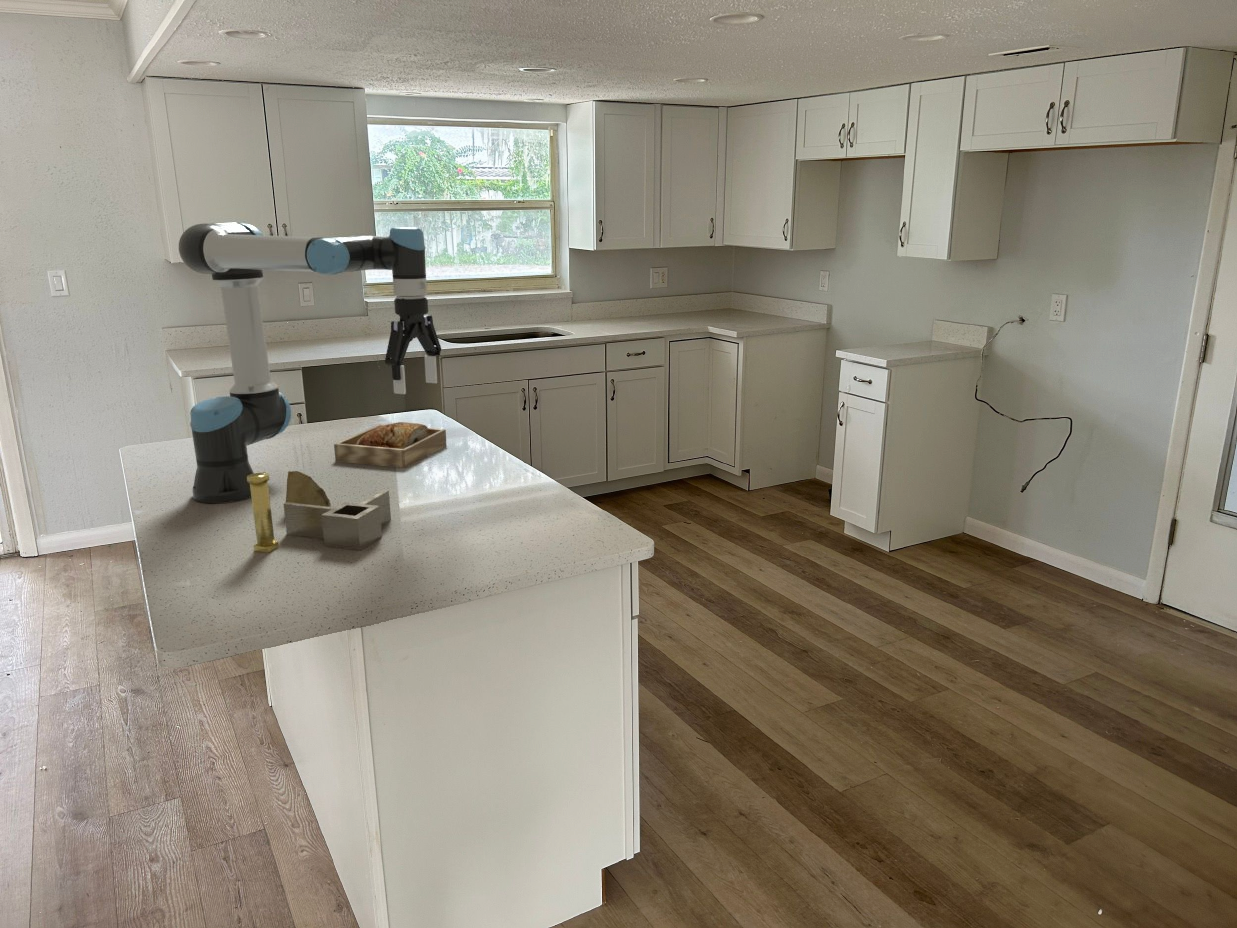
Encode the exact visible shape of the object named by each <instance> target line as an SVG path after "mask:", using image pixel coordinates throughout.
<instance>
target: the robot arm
mask: <svg viewBox="0 0 1237 928" xmlns="http://www.w3.org/2000/svg"><path fill="white" fill-rule="evenodd" d="M178 253H179V256H180V258H181V259H182V262H183V263H184V264H185V265H186V267H188V268H189V269H190V270H191V271H194V272H196V273H197V274H198V273H199V274H203V275H211V277H212V282H213V283H215V284H216V285H217V286H219V287H220V292H221V293H220V294H221V299H222V306H223V307H222V308H223V312H224V313H223V314H224V318H225V319H224V321H225V326H226V332H227V333H226V334H227V338H228V340H227V341H228V346H229V347H228V348H229V353H230V359H231V365H232V366H231V367H232V368H231V369H232V373H233V380H234V384H233V385H232V386H231V388H230V389H229V395H228V396H227V395H225V396H217V397H215V398H213V397H212V398H208V399H205V400H201V401H199V402H198V403H196V404H195V405H193V407H192V408H191V410H190V413H189V414H190V422H189V423H190V424H189V425H190V429H191V434H192V442H193V447H194V453H195V460H196V470H195V471H196V472H195V475H194V481H193V486H192V497H193V500H195V501H196V502H200V503H202V504H204V503H205V504H223V503H224V504H225V503H232V502H238V501H242V500H246V499H248V498H252V497H251V489H250V483H248V482H247V476H248V475H250V474H254V471H253V468H252V465H251V463H250V462H249V461H250V460H249V456H248V454H249V453H248V446H250V445H253V444H255V443H259V442H261V441H264V440H269V439H272V438H275V437H276V436H278V435H280V434H281V433H283V432H285V430H286V429H287V428H288V426H289V425H290V422H291V419H292V408H291V405H290V401H289V400H288V399H286V396H285V395H284V394H283V393H282V392H280V391H279V385H278V384H276V383H275V382H273V381H272V378H271V371H270V363H269V358H268V357H269V356H268V349H267V343H266V342H267V341H266V334H265V326H264V320H263V314H262V313H263V312H262V307H261V306H262V305H261V299H260V292H259V284H260V283H261V282H262V280H263V279H264V272H263V271H283V272H284V271H285V272H305V273H307V272H309V273H312V272H313V273H318V274H320V275H332V276H333V275H337V274H342V273H343V274H344V273H350V272H351V273H353V272H359V271H360V272H361V271H370V270H371V271H372V270H385V271H386V270H388V271H391V273H392V287H393V289H392V291H393V296H395V298H394V299H393V301H394V313H395V314H396V315H397V316H398V317H399V320H398V321H397V320H391V322H390V332H389V333H390V334H389V339H388V343H387V344H388V345H387V348H386V354H385V358H384V359H385V360H384V364H385V365H387V366H390V367H391V373H392V374H391V375H392V380H393V381H392V382H393V393H394V394H397V395H406V394H407V388H406V372H405V365H402V364H403V362H404V359H405V356H406V353H407V351H408V348H409V346H410V343H411V342H412V341H413V340H414V339H417V340H418V342H419V344H420V345H421V348H423V351H424V352H425V354H426V355H424V372H425V373H424V375H425V383H427V384H438V372H437V356H438V357H439V356H441V352H442V346H441V343H440V340H439V338H438V337H439V336H438V335H437V331H436V328H435V325H434V319H433V316H432V315H431V314H429V300H428V298H427V297H425V296H427V294H428V288H427V287H428V283H427V272H426V246H425V236H424V231H423V230H422V228H420V227H415V226H414V227H410V226H409V227H403V226H402V227H399V226H397V227H392V228H390V229H389V235H386V236H385V235H383V236H381V235H365V234H356V235H349V236H346V237H342V236H341V237H339V236H338V237H325V236H324V237H323V236H321V237H320V236H318V237H317V236H293V235H292V236H291V235H289V236H288V235H264V234H263V233H262V231H260V230H259V229H258V228H257V227H255V226H254V225H252V224H249V223H246V222H235V221H232V222H217V223H216V222H215V223H214V222H213V223H211V222H210V223H198V224H194V225H192V226H190V227H187V228H186V230H185V231H184V232H182V234H181V236H180V237H179V240H178Z"/></svg>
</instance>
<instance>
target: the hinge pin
mask: <svg viewBox="0 0 1237 928" xmlns="http://www.w3.org/2000/svg"><path fill="white" fill-rule="evenodd" d="M268 481H270V474H269V473H267V472H255V473H254V474H250V475H248V476H247V482H248V483H250V489H251V497H250V498H251V503H252V513H253V520H254V529H255V536H256V544H254V545H253V549H254V552H260V553H267V554H269V553H271V552H272V551H274V550H276V549H278V548H279V547H280V545H279V541H277V540H275V534H274V526H273V525H274V524H273V517H272V516H273V515H272V508H271V507H272V506H271V498H270V491H269V482H268Z"/></svg>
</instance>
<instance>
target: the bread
mask: <svg viewBox="0 0 1237 928" xmlns="http://www.w3.org/2000/svg"><path fill="white" fill-rule="evenodd" d="M382 425H383V426H380V427H378V428H376V429H374V430H372V431H370V432H368V433H366V434H365V435H364V436H362V437H361V438H360V439H359V440H358V441H357V443H356V445H362V446H373V447H385V448H397V449H404V448H406V447H408V446H410V445H412V444H414V443H416V442H418V441H420V440H422V439H424V438H426V437H428V436H429V435H428V432H429V431H428V428H429V427H428V426H427V425H426V424H424V423H414V422H406V421H405V422H404V421H401V422H394V423H388V424H382Z"/></svg>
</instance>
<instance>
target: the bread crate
mask: <svg viewBox="0 0 1237 928" xmlns="http://www.w3.org/2000/svg"><path fill="white" fill-rule="evenodd" d="M383 425H384V424H377V425H375V426H373V427H371V428H368V429H366V430H363V431H361V432H359V433H357V434H354V435H352V436H349V437H348V438H347V437H346V438H345V439H343V440H340V441H337V442H336V443H334V444H333V448H334V458H335V459H334V461H335V462H338V463H347V464H348V463H350V464H359V465H372V466H378V467H379V466H381V467H393V468H401V469H407V468H409V467H411V466H412V465H414V464H416V463H418V462H419V461H421V460H423V459H425V458H427V457H429V456H431V455H433V454H434V453H436V452H438V451H440V450H442V449H443V448H445V447H447V445H448V444H447V432H446V431H447V430H446V429H442V428H434V427H433V428H432V427H431V428H430V427H427V428H428V431H429V432H428V435H429V436H428V437H426V438H424V439H422V440H420V441H418V442H416V443H414V444H412V445H410V446H408V447H406V448H404V449H397V448H385V447H373V446H362V445H356V443H357V441H358V440H359V439H360V438H361V437H362V436H364V435H365V434H366V433H368V432H370V431H372V430H374V429H376V428H378V427H380V426H383Z"/></svg>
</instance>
